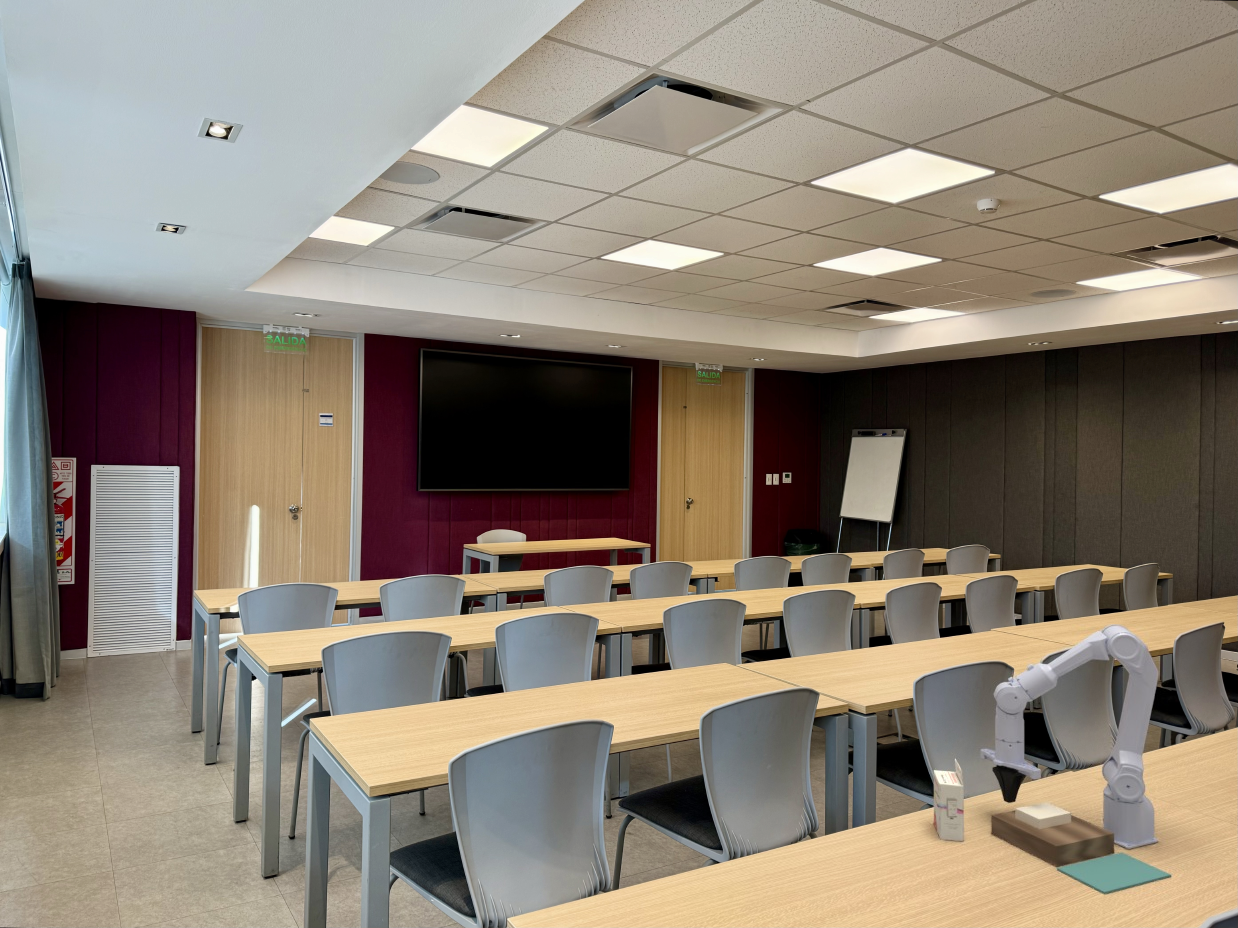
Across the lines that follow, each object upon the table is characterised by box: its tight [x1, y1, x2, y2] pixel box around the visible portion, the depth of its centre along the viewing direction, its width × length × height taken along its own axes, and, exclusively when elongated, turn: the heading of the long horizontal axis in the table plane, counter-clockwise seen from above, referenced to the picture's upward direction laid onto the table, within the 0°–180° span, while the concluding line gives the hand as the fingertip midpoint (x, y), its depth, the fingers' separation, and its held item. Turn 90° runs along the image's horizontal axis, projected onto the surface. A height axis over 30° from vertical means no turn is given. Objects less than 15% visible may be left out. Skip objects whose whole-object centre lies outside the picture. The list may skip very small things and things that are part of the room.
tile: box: [1014, 801, 1072, 829], centre depth 174 cm, size 9×6×2 cm, turn 112°
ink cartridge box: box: [933, 758, 965, 842], centre depth 177 cm, size 9×5×15 cm, turn 168°
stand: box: [990, 809, 1115, 868], centre depth 172 cm, size 16×16×4 cm
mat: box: [1056, 852, 1172, 895], centre depth 159 cm, size 18×10×1 cm, turn 112°
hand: (1009, 801), depth 182 cm, fingers closed
